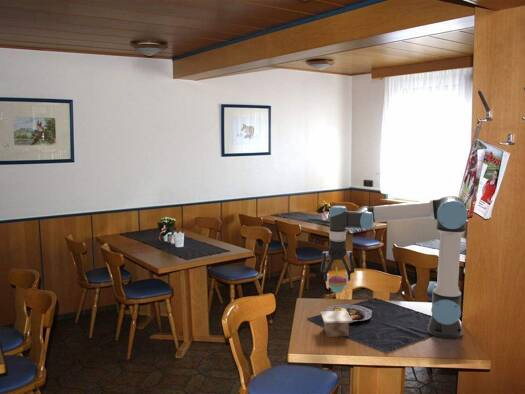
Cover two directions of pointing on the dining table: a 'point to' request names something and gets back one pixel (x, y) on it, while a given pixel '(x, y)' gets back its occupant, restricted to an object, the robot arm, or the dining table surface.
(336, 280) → the cupcake
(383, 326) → the dining table surface
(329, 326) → the white box
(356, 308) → the food plate
